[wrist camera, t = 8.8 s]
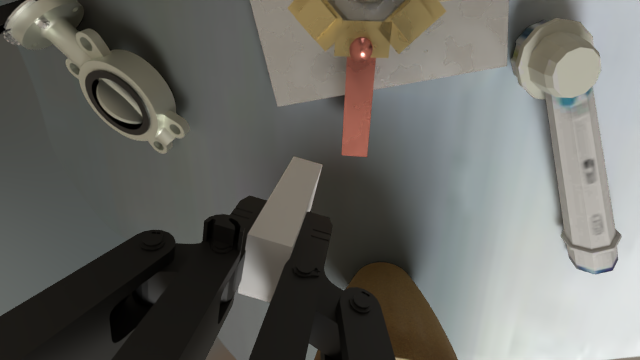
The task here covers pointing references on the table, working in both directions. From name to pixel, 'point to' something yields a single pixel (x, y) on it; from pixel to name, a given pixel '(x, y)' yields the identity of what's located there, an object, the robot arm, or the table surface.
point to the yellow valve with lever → (363, 52)
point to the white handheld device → (572, 134)
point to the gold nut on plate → (406, 67)
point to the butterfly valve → (99, 70)
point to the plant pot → (404, 313)
